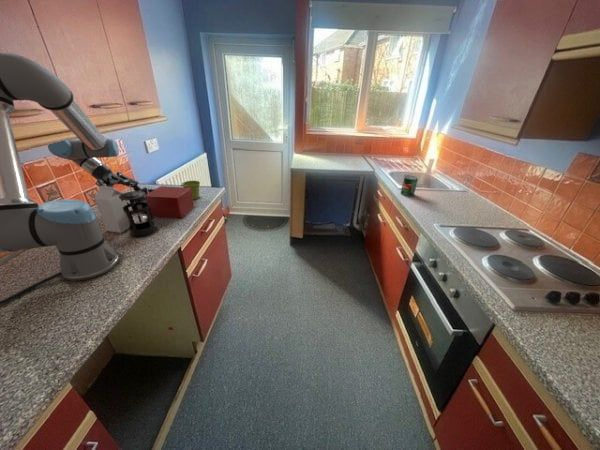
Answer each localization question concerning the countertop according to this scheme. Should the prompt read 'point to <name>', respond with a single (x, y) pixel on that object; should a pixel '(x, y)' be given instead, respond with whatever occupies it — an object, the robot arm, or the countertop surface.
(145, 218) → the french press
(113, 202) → the milk carton
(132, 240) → the countertop surface
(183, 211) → the red drawer cabinet
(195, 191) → the plant pot
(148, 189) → the black drawer
